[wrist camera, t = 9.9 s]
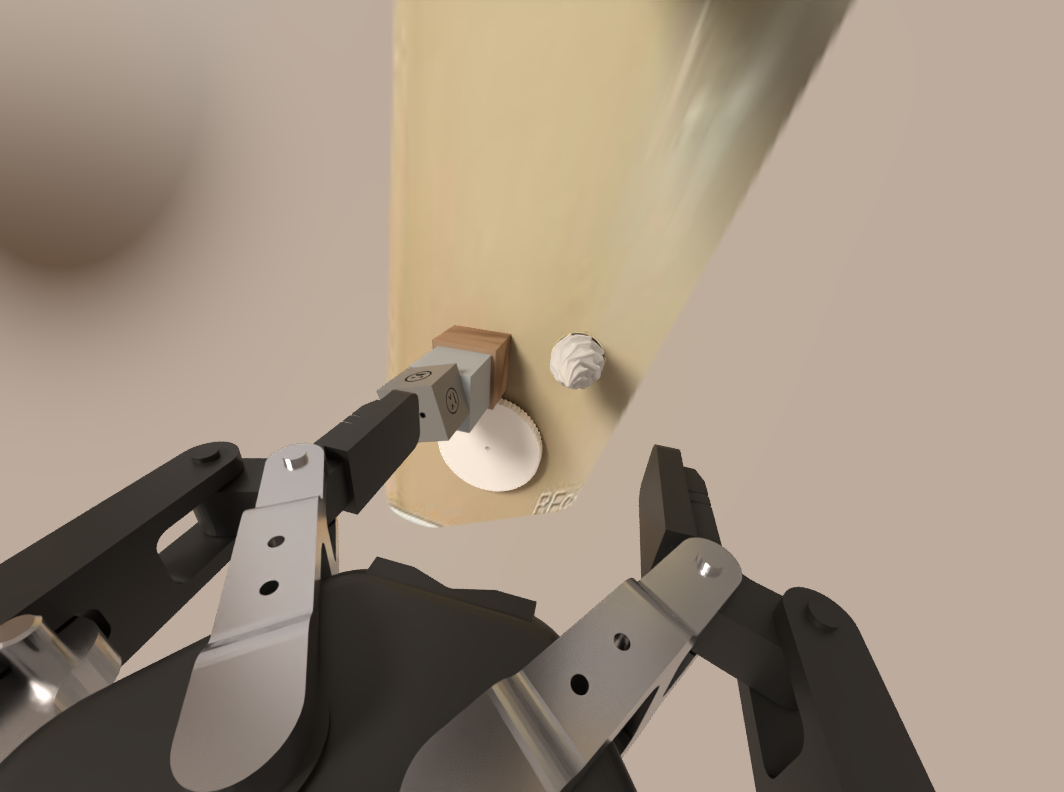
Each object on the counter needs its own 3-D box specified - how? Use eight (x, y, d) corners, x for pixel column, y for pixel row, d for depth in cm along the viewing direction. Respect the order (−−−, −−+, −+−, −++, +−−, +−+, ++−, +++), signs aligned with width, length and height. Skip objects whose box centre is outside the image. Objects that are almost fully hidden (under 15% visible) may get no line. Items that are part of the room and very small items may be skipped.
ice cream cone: (614, 316, 41) (608, 366, 28) (603, 359, 43) (592, 425, 30) (568, 306, 41) (541, 351, 28) (559, 350, 44) (531, 409, 31)
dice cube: (407, 368, 35) (376, 390, 31) (456, 362, 34) (431, 385, 29) (423, 416, 37) (396, 443, 33) (470, 412, 36) (448, 440, 31)
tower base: (454, 325, 45) (432, 339, 40) (511, 334, 44) (495, 350, 39) (454, 378, 49) (433, 398, 43) (507, 387, 47) (492, 409, 42)
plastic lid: (452, 377, 49) (444, 385, 47) (556, 411, 48) (552, 420, 45) (439, 461, 55) (431, 471, 53) (530, 492, 54) (526, 504, 52)
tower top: (437, 345, 40) (409, 365, 35) (491, 354, 39) (470, 376, 34) (438, 395, 43) (412, 421, 38) (489, 405, 42) (469, 433, 37)
